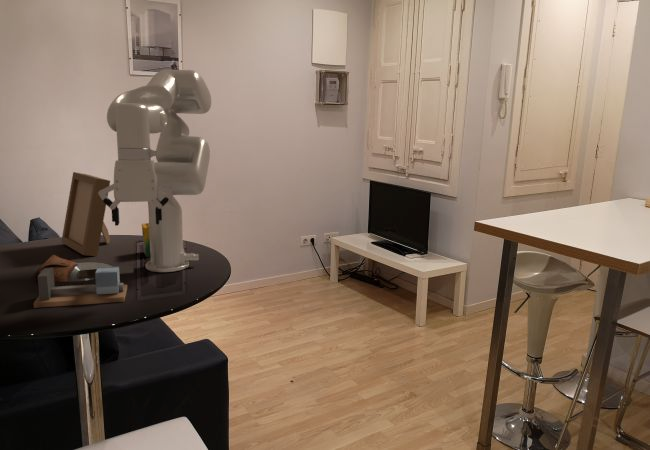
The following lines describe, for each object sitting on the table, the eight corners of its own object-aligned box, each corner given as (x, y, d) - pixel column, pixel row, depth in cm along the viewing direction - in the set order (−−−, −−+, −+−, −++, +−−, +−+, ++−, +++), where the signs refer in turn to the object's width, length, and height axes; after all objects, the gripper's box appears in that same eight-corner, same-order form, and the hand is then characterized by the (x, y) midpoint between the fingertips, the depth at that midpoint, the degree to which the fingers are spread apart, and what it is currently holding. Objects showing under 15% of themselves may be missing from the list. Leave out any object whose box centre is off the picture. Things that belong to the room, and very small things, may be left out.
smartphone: (133, 268, 159) (78, 272, 153) (133, 265, 159) (78, 270, 153) (134, 275, 152) (77, 280, 147) (134, 272, 152) (77, 277, 146)
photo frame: (83, 258, 167) (77, 179, 162) (61, 244, 183) (55, 172, 178) (129, 250, 177) (125, 176, 172) (104, 238, 193) (100, 170, 188)
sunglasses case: (69, 280, 145) (54, 261, 142) (46, 294, 144) (30, 275, 141) (79, 263, 161) (65, 245, 159) (58, 275, 160) (44, 258, 158)
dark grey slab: (55, 290, 133) (53, 267, 132) (49, 299, 127) (46, 276, 125) (46, 291, 133) (44, 268, 131) (39, 300, 126) (37, 276, 125)
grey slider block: (120, 286, 136) (118, 266, 135) (118, 293, 132) (117, 272, 130) (99, 287, 135) (98, 267, 134) (96, 294, 130) (95, 273, 129)
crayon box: (143, 252, 176) (141, 217, 174) (152, 251, 177) (150, 217, 175) (145, 257, 170) (143, 222, 167) (155, 256, 171) (153, 221, 168)
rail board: (127, 288, 139) (126, 277, 139) (124, 301, 130) (123, 290, 129) (43, 293, 134) (42, 282, 133) (34, 307, 125) (32, 295, 124)
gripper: (171, 154, 134) (173, 220, 138) (98, 153, 130) (102, 222, 133) (171, 156, 127) (173, 226, 131) (93, 156, 123) (98, 228, 126)
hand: (137, 224), depth 132 cm, fingers open, 9 cm apart
